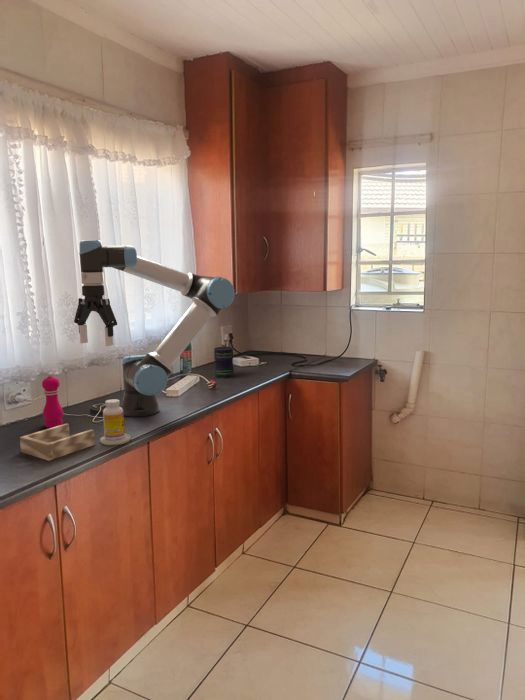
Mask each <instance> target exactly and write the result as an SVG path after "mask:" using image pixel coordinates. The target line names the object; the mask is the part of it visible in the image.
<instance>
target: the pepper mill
mask: <svg viewBox="0 0 525 700" xmlns="http://www.w3.org/2000/svg"><path fill="white" fill-rule="evenodd" d="M41 386H42V388H43V392H44V395H45V404H44V408H43V410H42V418H43V419H44V420H45V421H44V427H45V428H46V429H49V428H52V427H56V426H59V425H62V424H64V421H63V419H62V418H63V416H64V409H63V407H62V406H61V404H60V402H59V398H58V397H59V395H58V394H59V393H60V391H59V389H58V388H59V387H60V381H59V379H58V378H57V377H55V376H53V372H48V374H47V377H44V379H42V382H41Z"/></svg>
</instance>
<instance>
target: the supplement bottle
mask: <svg viewBox="0 0 525 700" xmlns="http://www.w3.org/2000/svg"><path fill="white" fill-rule="evenodd" d="M104 404H105V407H104V409H103V410H102V418H103V419H102V421H103V433H104V434H103V436H104V437H105V439H107V440H118V439H122V438H123V437H124V436H125V434H126V433H125V419H124V415H123V409H122V408H121V405H120V404H121V401H120V399H116V398H115V399H111V398H110V399H106V400H105V402H104Z"/></svg>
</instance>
